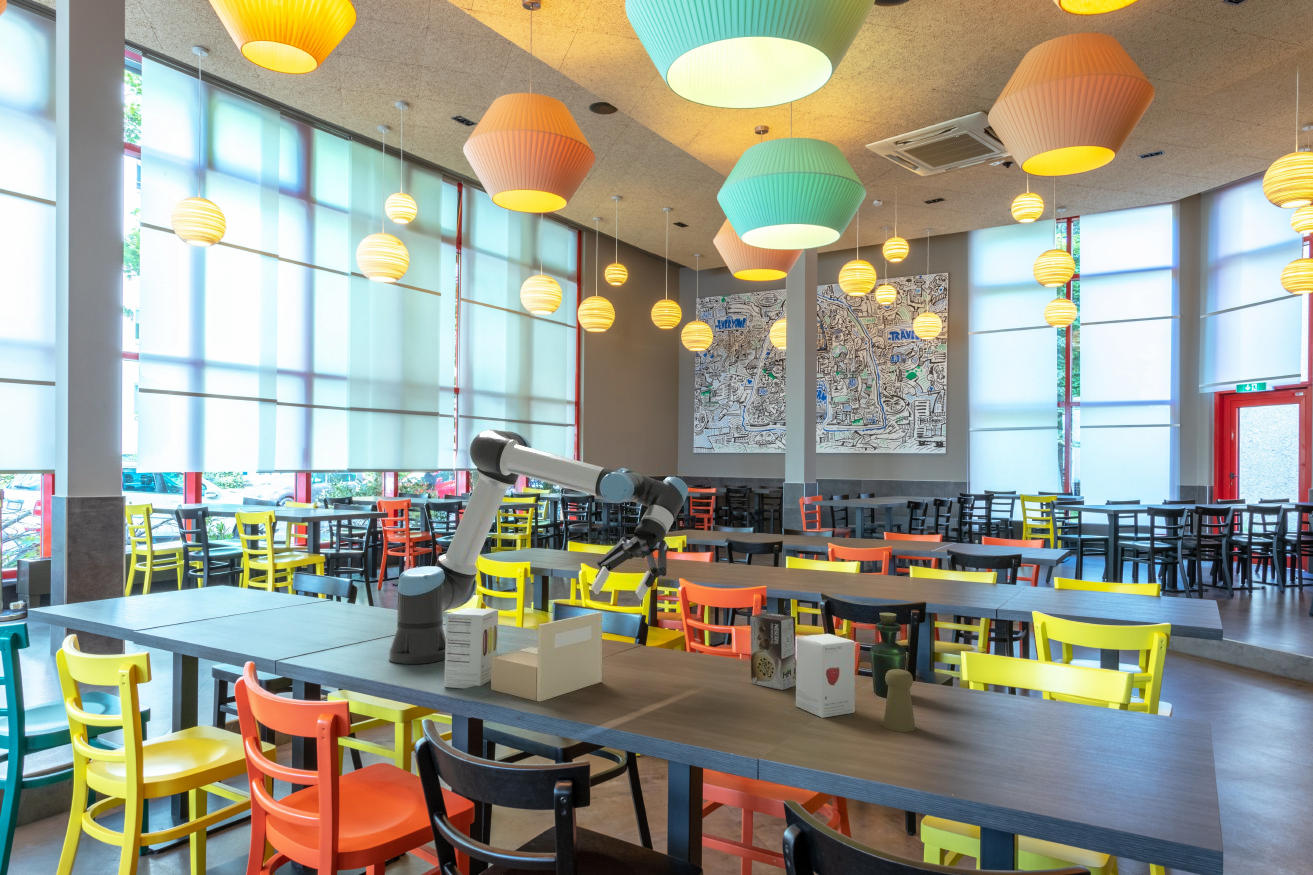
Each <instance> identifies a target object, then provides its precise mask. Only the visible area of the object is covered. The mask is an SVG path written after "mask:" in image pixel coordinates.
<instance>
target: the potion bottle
mask: <svg viewBox="0 0 1313 875" xmlns="http://www.w3.org/2000/svg"><path fill="white" fill-rule="evenodd" d="M879 619H880V622H877V623H875V627H874V629H875V630H876V631H878V632H879V636H880V638H881V641H879V642H877V643H875V644H873V645H872V646H871V648H870V649H869V654H870V664H871V666H870V667H871V675H872V687H873V693H874V694H875V696H879V697H881V698H882V697H883V698H887V693H888V685H887V684H886V680H885V676H886V673H887V672H888V671H889V670H892V669H901V670H905V671H907V655H908V654H907V651H906V649H905V647H903V646H902V645H900V644H899V643H897V642H896V641H895V640H896V637H897V633H898V632H901V631H902V628H901V625H900V624H899V623H897V614H896V613H893V612H879Z"/></svg>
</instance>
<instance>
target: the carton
mask: <svg viewBox="0 0 1313 875" xmlns="http://www.w3.org/2000/svg"><path fill="white" fill-rule="evenodd" d="M537 656H538V645H537V646H533V647H531V646H529V647H526V648H521V649H518V650H516V651H512V652H509V653H504V654H500V655H497V656H495V657H492V669H491V681H490V689H491V691H497V692H500V693H504V694H508V695H513V696H516V697H520V698H523V699H527V700H532V701H535V702H536V701H537ZM537 702H538V701H537Z"/></svg>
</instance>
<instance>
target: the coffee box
mask: <svg viewBox="0 0 1313 875" xmlns="http://www.w3.org/2000/svg"><path fill="white" fill-rule="evenodd" d="M796 624H797V623H796V616H792V615H784V614H778V613H772V612H760V613H758V614H754V615H751V616H750V683H751V684H752V685H756V686H757V685H758V686H763V687H766V688H771V689H776V690H781V691H784V690H786V689H789V688H792V687H796V657H797V634H796V629H797V628H796Z"/></svg>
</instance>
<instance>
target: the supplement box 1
mask: <svg viewBox="0 0 1313 875" xmlns="http://www.w3.org/2000/svg"><path fill="white" fill-rule="evenodd" d="M498 634H499V609H496V608H479V607H478V608H477V607H476V608H474V607H463V608H461V609H458V610H454V611H452V612H448V613H446V616H445V637H446V646H445V659H444V683H443V684H444V685H443V687H444V688H453V689H454V688H455V689H463V690H464V689H467V688H472V687H474V686H475V687H481V686H483V685H485V684H486V683H489V682H490V683H491V669H492V657H495V656H498V640H499V639H498V638H499V637H498Z"/></svg>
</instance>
